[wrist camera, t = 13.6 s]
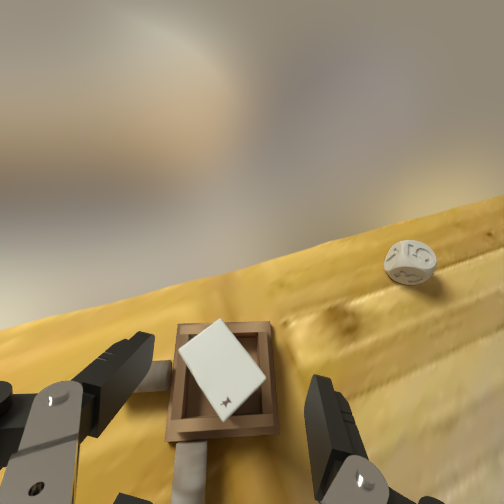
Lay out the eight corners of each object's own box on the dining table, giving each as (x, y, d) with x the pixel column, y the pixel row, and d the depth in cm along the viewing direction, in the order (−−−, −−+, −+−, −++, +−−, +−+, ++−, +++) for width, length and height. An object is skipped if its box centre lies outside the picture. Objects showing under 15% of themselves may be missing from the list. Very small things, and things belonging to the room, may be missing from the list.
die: (385, 252, 40) (403, 235, 36) (415, 263, 39) (437, 247, 35) (381, 276, 38) (400, 261, 33) (413, 289, 37) (437, 275, 33)
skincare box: (255, 386, 28) (269, 380, 17) (226, 414, 26) (222, 426, 16) (224, 343, 30) (220, 315, 20) (195, 367, 28) (174, 350, 18)
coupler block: (269, 323, 32) (273, 314, 29) (284, 509, 23) (293, 529, 20) (132, 327, 31) (119, 318, 27) (89, 528, 22) (63, 553, 18)
